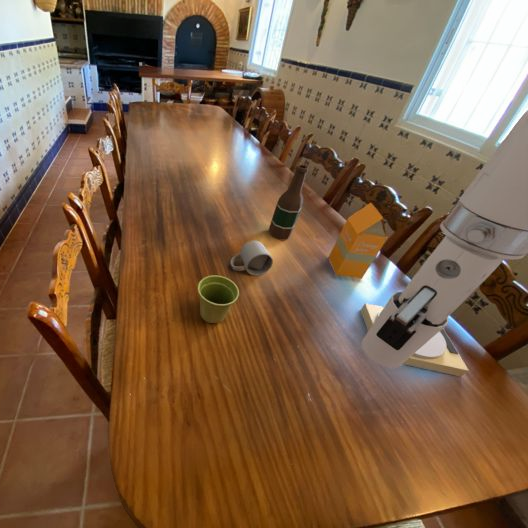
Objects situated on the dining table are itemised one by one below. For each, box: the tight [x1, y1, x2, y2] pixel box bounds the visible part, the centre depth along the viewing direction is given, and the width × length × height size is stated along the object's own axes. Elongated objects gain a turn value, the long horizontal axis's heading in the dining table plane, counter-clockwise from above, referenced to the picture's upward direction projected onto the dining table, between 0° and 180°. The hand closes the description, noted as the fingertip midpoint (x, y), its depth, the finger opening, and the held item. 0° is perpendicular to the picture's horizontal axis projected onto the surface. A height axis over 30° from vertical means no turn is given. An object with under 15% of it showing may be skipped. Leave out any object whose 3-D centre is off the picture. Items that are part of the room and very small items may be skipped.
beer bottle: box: [268, 164, 309, 241], centre depth 95 cm, size 8×8×24 cm
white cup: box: [361, 290, 449, 369], centre depth 43 cm, size 7×7×10 cm
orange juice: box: [328, 202, 388, 280], centre depth 84 cm, size 8×9×20 cm
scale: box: [360, 302, 470, 378], centre depth 69 cm, size 17×15×4 cm
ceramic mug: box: [229, 240, 274, 276], centre depth 85 cm, size 11×8×8 cm
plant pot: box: [197, 274, 240, 324], centre depth 70 cm, size 9×9×9 cm
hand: (399, 331), depth 43 cm, fingers closed on white cup, 5 cm apart
